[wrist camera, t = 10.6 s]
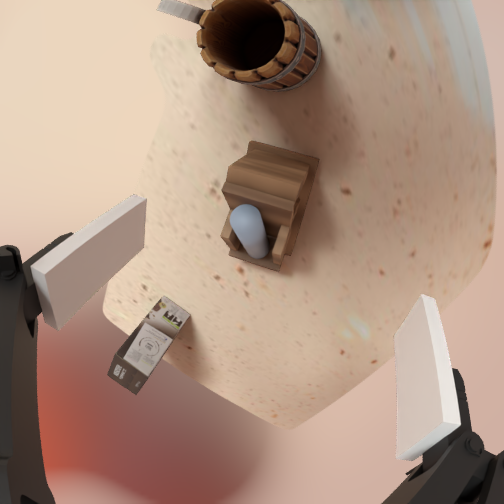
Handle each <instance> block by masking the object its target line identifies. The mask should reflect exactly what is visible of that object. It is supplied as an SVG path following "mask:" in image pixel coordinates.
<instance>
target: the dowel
mask: <svg viewBox="0 0 504 504" xmlns="http://www.w3.org/2000/svg"><path fill="white" fill-rule="evenodd" d="M230 224H231V227H232V228H233V230H234V231H235V233H236V235H237V236H238V238H239V240H240V241H241V243H242V245H243V246H244V248H245V249H246V251H247V253H248V254H249V256H251V257H252V258H255V259H261V258H263V257H265V256H266V255H267V254H268V252H269V249H270V245H269V242H268V238H267V235H266V231H265V228H264V225H263V221H262V218H261V215H260V212H259V210H258V209H257V208H256V207H254V206H252V205H249V204H243V205H240V206H238V207H236V208H235V209H234V210H233V211H232V213H231V215H230Z"/></svg>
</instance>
